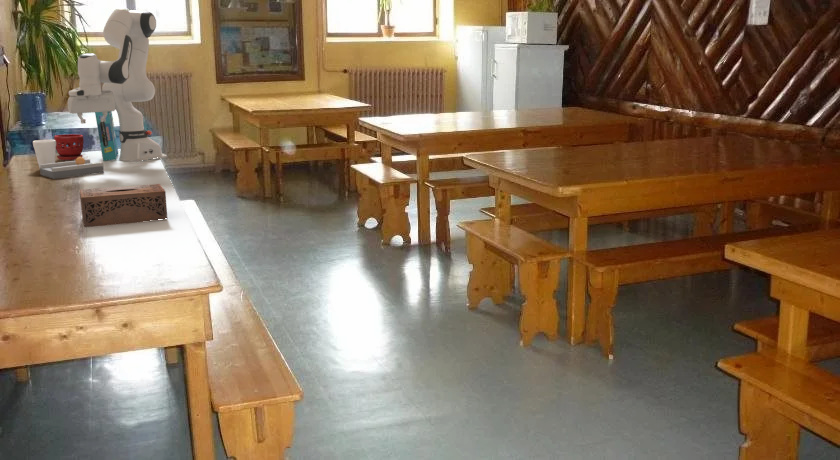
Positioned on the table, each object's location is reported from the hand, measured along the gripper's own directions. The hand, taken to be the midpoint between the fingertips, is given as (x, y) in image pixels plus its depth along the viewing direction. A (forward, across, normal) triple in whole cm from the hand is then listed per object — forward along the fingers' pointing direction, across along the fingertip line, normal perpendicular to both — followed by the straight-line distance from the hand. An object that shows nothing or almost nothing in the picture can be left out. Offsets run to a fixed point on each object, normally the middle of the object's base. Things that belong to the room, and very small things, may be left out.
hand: (93, 122), depth 360 cm
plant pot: (+22, -5, -42) cm, 47 cm away
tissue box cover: (+23, +35, +102) cm, 110 cm away
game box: (+21, -21, -33) cm, 45 cm away
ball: (+17, +8, 0) cm, 18 cm away
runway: (+22, +12, 0) cm, 25 cm away
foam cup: (+22, +15, -20) cm, 33 cm away
